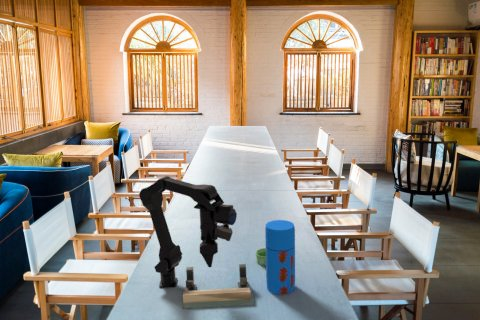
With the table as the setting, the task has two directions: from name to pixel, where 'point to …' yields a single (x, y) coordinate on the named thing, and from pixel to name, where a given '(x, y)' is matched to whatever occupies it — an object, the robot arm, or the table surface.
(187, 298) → the rail
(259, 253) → the ramekin
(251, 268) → the table surface
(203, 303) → the mat
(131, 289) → the table surface
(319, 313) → the table surface
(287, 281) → the thermos
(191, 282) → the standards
